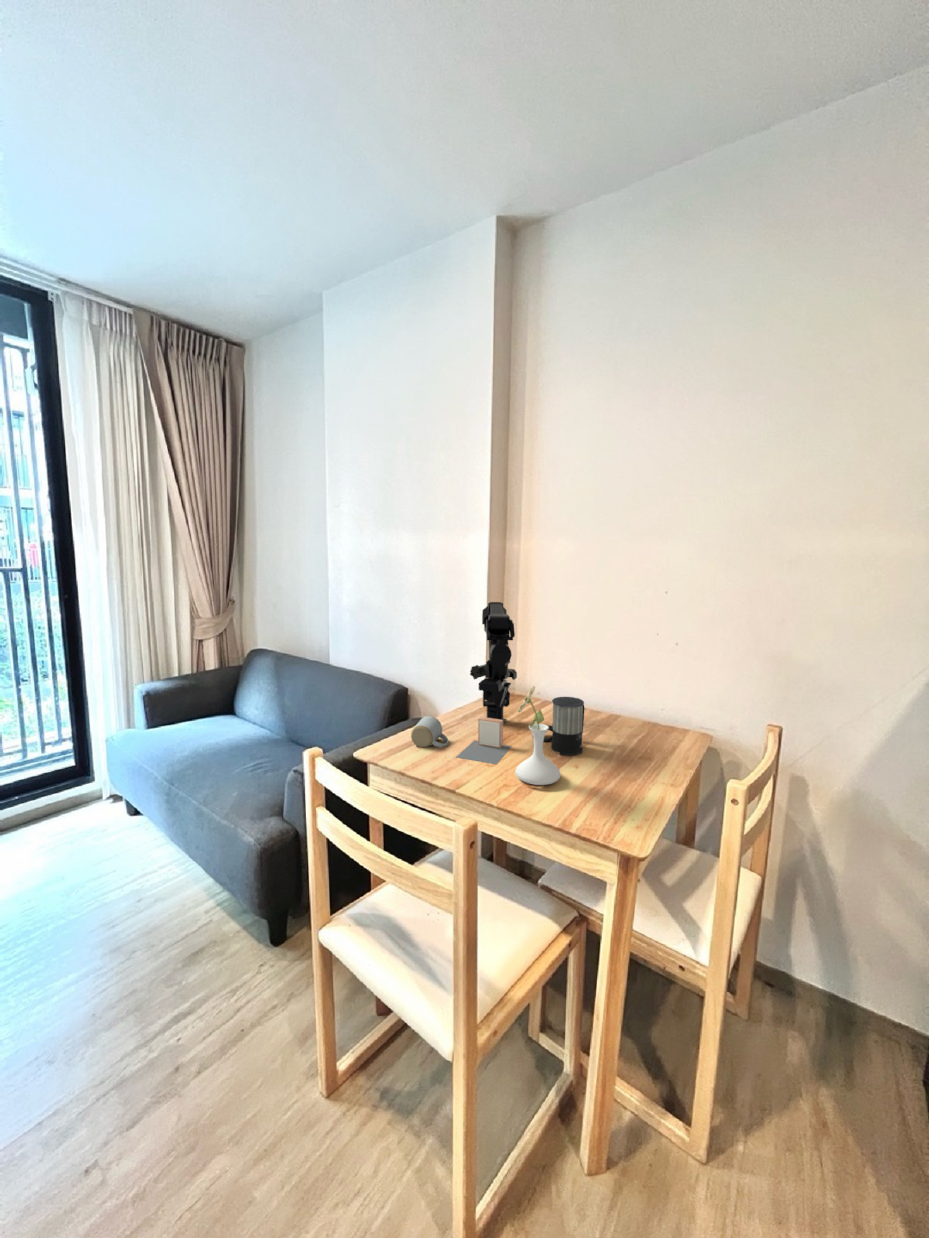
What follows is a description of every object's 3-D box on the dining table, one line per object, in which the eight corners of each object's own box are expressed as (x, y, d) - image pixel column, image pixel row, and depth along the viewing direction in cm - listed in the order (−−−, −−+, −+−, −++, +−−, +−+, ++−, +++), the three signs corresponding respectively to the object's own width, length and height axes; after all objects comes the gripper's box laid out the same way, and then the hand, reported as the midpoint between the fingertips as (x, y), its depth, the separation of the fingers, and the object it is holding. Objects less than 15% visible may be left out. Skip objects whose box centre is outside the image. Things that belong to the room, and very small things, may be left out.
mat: (474, 741, 150) (474, 740, 150) (511, 747, 145) (511, 746, 145) (455, 758, 137) (455, 757, 137) (496, 766, 132) (496, 764, 132)
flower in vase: (530, 765, 133) (532, 675, 130) (568, 777, 126) (571, 682, 122) (502, 782, 123) (503, 685, 120) (542, 797, 116) (544, 693, 112)
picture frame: (480, 742, 148) (480, 716, 147) (502, 745, 145) (503, 719, 144) (478, 744, 146) (478, 719, 145) (500, 748, 143) (500, 722, 142)
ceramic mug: (409, 747, 145) (409, 722, 144) (419, 738, 153) (419, 714, 152) (443, 752, 142) (443, 726, 141) (451, 742, 150) (452, 717, 149)
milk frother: (581, 758, 138) (582, 707, 136) (525, 750, 143) (526, 701, 141) (585, 740, 151) (587, 693, 149) (535, 734, 156) (536, 688, 154)
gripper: (484, 649, 161) (484, 695, 163) (462, 660, 143) (462, 712, 146) (517, 652, 156) (516, 699, 158) (498, 664, 139) (497, 717, 141)
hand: (498, 706), depth 151 cm, fingers closed
